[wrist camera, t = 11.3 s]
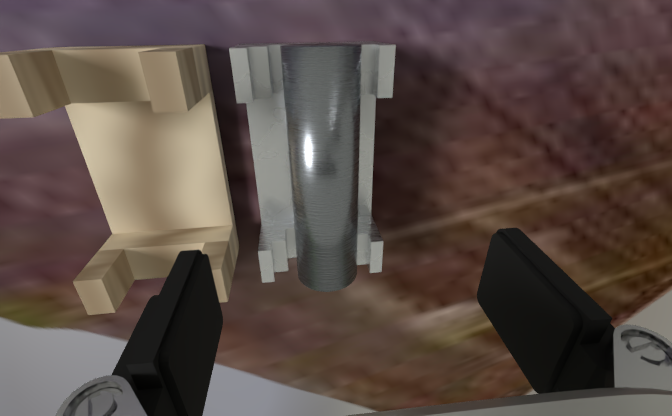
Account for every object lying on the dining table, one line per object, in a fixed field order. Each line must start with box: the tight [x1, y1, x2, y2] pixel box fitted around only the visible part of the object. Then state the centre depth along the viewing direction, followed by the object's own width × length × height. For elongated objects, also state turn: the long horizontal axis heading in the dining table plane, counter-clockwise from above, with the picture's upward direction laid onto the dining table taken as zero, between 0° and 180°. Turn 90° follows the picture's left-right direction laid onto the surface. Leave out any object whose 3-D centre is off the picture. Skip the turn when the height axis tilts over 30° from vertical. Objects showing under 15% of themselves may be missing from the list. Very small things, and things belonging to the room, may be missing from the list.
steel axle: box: [280, 43, 362, 292], centre depth 20 cm, size 4×14×4 cm, turn 1°
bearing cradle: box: [0, 45, 239, 315], centre depth 20 cm, size 8×14×6 cm, turn 1°
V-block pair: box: [229, 41, 396, 283], centre depth 22 cm, size 8×14×4 cm, turn 1°
